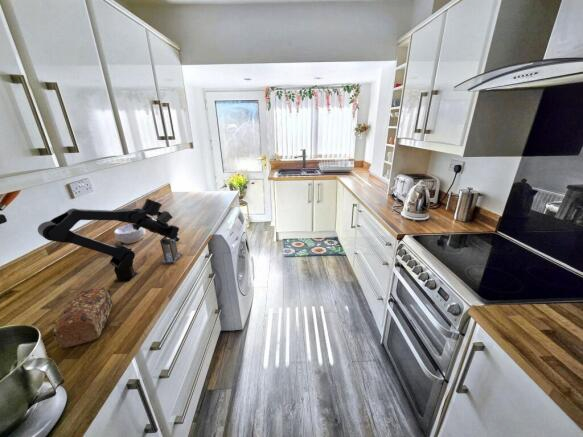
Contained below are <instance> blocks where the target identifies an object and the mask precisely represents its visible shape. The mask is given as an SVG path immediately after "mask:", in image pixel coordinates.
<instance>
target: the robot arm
mask: <svg viewBox="0 0 583 437" xmlns="http://www.w3.org/2000/svg"><path fill="white" fill-rule="evenodd" d="M162 206H163V204H162V203H161V202H158V201H155V200H152V199H150V198H146V199H145V202H144V203H143V205H142V207H141V208H140V207H137V208H118V209H113V210H111V209H110V210H106V209H104V210H103V209H84V208H83V209H82V208H81V209H79V208H70V209H68V210H66V211H65V212H64V213H61V214H59V215H57V216H55V217H53V218H52V219H51V220H48V221H44V222H42V223H41V224H39V225H38V227H37V232H38V234H39V235H40V236H41V237H42V238H44V239H45V240H47V241H49V242H50V241H51V242H56V243H64V244H73V245H76V246H78V247H83V248H85V249H89V250H92V251H95V252H99V253H101V254H105V255H108V256H109V257H111V259H110V260H109V264H110V265H111V266H113V267H114V269H113V271H114V273H115V275H116V278H115V279H114V282H116V283H117V282H119V283H120V282H130V281H131V280H132V279H133V278H135V277H136V275H138V271H135V270H134V267H133V266H134V265H133V264H134V259H135V257H136V253H135V251H133V248H131V247H129V246H127V245H124V244H123V245H122V244H120V243H118V242H115V245H112V244H108V243H106V242H102V241H100V240H97V239H94V238H91V237H88V236H85V235H82V234H80V233H77V232H74V231H72V228H73V227H74V226H75V225H76V224H77V223H79V222H80V221H116V222H121V223H126V224H132V225H133V229H136V230H139V228H140V227H142V228H145V230H146V231H149V232H150V233H153V234H157V235H159V236H162V237H167V239H175V237H176V236H178V235H179V234H178V233H179V231H180V227H179V226H176V225H173V224H170V225H169V222H170V220H171V219H173V217H174V216H173V215H172V213H170V211H167V210H162V211H160V210H161V208H162ZM154 216H155V217H156V218H153V217H154Z"/></svg>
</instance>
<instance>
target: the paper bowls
mask: <svg viewBox="0 0 583 437" xmlns="http://www.w3.org/2000/svg"><path fill="white" fill-rule="evenodd" d="M132 224H133V223H127V224H125V225H122V226H120V227H117V228H116V229H114V231H113V233H114V237H115V240H116V241H117V242H121V243H123V244H134V243H137V242H139V241H141V240H142V239H143V237H144V236H145V235H146V234H147V229H145V228H142V227H140V228H139V230H136V229H133V225H132Z"/></svg>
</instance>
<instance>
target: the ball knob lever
mask: <svg viewBox="0 0 583 437" xmlns="http://www.w3.org/2000/svg"><path fill="white" fill-rule="evenodd" d="M169 239H170V238H167V239H165V240H164V245H169V242H168V240H169ZM175 241H176V243H177V242H179V241H180V237H179V236H178V235H177V236H176V237H175Z"/></svg>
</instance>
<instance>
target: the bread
mask: <svg viewBox="0 0 583 437" xmlns="http://www.w3.org/2000/svg"><path fill="white" fill-rule="evenodd" d="M113 303H114V302H113V296H112V293H111V290H110V289H109V287H106V286H101V287H94V288H89V289H86V290H82V291H80V292H79V293H78V294H77V295H75V296H74V297H72V298H71V299H70V300H69V301H68V303H66V305H65V306H64V309H63V310H62V311H61V313H60V314H59V315H58V319H57V321H56V323H55V325H54V326H53V332H52V334H53V337H54V340H55V342H57V343H58V346H59V345H60V347H61V348H71V347H74V346H79V345H82V344H86V343H90V342H93V341H95V340H97V339H98V338H100V336H101V334H102V331H103V329H104V327H105V325H106V323H107V320H108V318H109V315H110V312H111V310H112V306H113Z"/></svg>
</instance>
